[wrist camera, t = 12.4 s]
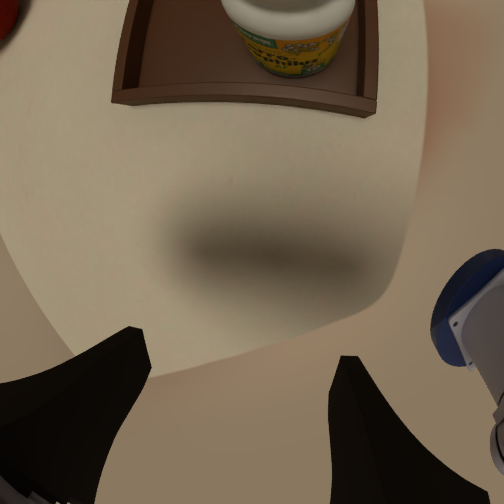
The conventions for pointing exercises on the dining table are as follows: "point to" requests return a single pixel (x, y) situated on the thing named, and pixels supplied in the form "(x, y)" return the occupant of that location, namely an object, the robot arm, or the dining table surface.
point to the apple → (7, 16)
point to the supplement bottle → (291, 32)
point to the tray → (235, 61)
